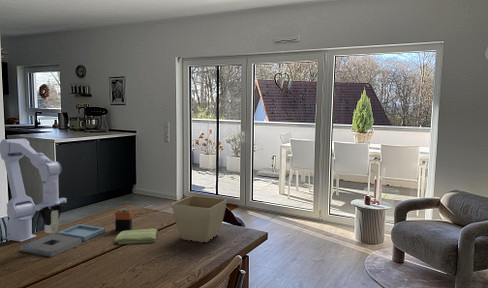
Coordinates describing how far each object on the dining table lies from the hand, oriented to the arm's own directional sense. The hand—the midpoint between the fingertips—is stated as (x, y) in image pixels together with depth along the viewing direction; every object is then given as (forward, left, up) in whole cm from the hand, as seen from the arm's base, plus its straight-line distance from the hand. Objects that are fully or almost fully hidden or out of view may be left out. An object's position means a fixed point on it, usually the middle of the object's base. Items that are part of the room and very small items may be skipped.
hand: (51, 223), depth 152 cm
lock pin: (0, 0, -3) cm, 3 cm away
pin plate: (0, 0, -10) cm, 10 cm away
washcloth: (+26, +22, -11) cm, 36 cm away
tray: (0, +17, -10) cm, 20 cm away
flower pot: (+51, +35, -10) cm, 63 cm away
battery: (+13, +30, -10) cm, 34 cm away
